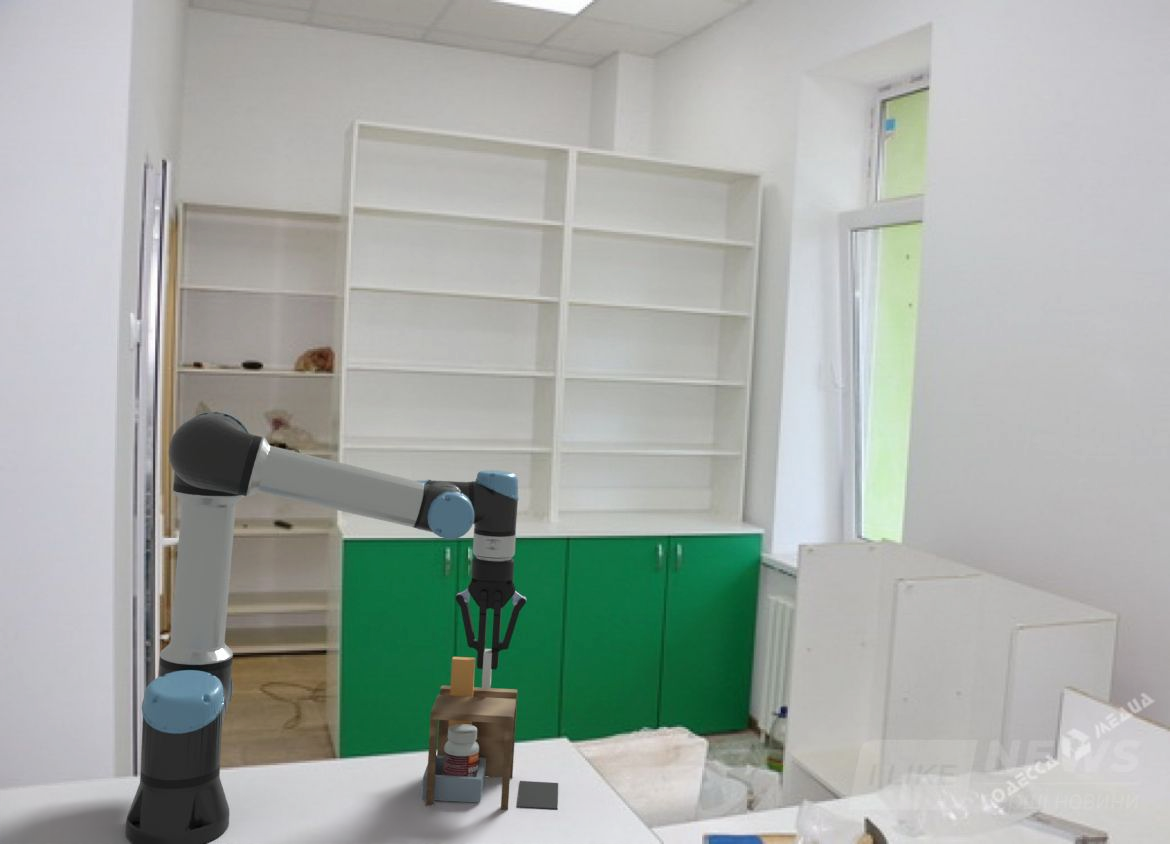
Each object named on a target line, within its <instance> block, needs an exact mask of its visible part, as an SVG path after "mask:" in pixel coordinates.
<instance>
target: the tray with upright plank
mask: <svg viewBox="0 0 1170 844" xmlns="http://www.w3.org/2000/svg"><path fill="white" fill-rule="evenodd" d="M475 668H476V657H468V656H467V657H466V656H464V657H463V656H453V657H452V659H451V674H450V675H451V676H450V686H451V690H450V695H452V696H470V697H473V689H474V687H475ZM455 724H470V725H472V721H455V720H449V726H448V728H449V727H450V726H451V725H455ZM448 741H449V740H448ZM443 766H444V756H441V755H437V754H436V769H435V787H434V801H445V802H446V801H449V802H466V803H467V802H470V803H481V800H482V795H483V790H484V784H485V780H486V777H485V767H486V758H479V759H478V771H477V775H476V777H466V776H447V775H443ZM425 768H426V769H425V771H424V774H423V777H422V792H421V800H426V790H427V772H428V764H427V765H426V767H425Z"/></svg>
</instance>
